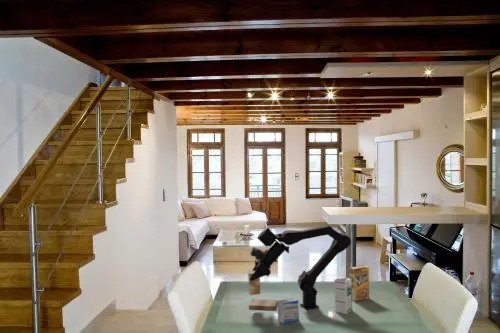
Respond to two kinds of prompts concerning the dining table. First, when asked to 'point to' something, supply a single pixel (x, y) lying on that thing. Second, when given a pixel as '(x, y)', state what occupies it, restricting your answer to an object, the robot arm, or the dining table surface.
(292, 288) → the dining table surface
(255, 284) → the oak pillar
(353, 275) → the candy box
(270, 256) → the robot arm
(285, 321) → the medicine box
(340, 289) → the syrup box
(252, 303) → the walnut slab
